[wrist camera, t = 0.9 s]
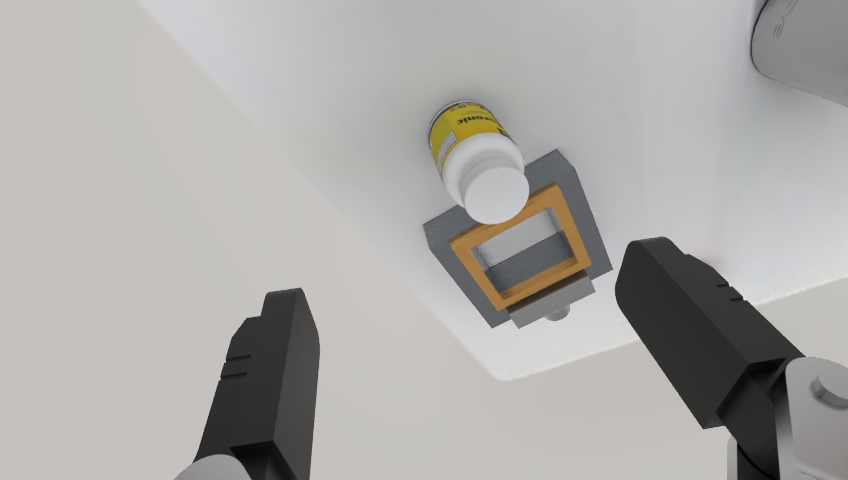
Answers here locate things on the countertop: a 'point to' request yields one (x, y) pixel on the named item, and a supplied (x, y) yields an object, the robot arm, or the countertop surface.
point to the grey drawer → (527, 251)
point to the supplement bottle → (478, 162)
